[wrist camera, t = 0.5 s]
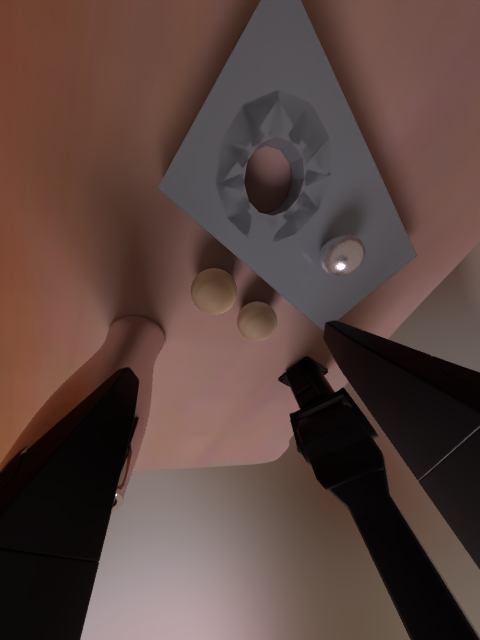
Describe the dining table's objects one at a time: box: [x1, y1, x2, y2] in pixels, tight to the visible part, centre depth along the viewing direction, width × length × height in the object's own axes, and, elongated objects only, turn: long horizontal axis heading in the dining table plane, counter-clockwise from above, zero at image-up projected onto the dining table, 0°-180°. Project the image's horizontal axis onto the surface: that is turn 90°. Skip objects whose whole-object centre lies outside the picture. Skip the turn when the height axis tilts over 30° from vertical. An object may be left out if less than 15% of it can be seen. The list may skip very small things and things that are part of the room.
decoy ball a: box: [237, 301, 277, 341], centre depth 21 cm, size 4×4×4 cm
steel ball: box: [319, 234, 366, 277], centre depth 16 cm, size 4×4×4 cm
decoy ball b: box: [191, 268, 237, 315], centre depth 18 cm, size 4×4×4 cm
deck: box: [158, 0, 417, 331], centre depth 17 cm, size 22×12×2 cm, turn 49°
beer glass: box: [0, 316, 165, 513], centre depth 16 cm, size 7×7×15 cm
